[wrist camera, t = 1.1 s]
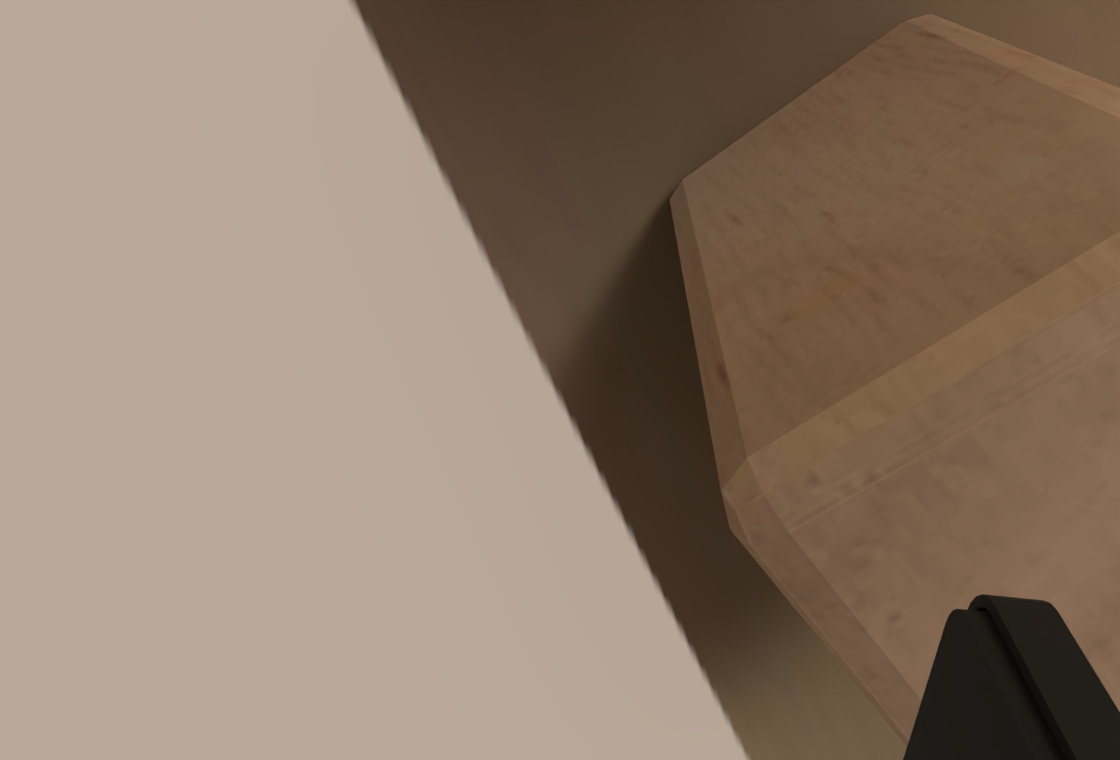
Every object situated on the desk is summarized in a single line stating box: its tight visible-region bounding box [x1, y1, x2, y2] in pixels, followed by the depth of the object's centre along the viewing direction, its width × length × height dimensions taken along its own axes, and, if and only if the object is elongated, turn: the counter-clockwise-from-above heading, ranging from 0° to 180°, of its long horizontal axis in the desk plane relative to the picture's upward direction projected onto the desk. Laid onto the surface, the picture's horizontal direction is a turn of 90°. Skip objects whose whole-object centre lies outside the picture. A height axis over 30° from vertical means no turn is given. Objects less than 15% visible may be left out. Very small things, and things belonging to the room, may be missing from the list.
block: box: [670, 14, 1120, 746], centre depth 25 cm, size 10×10×20 cm
